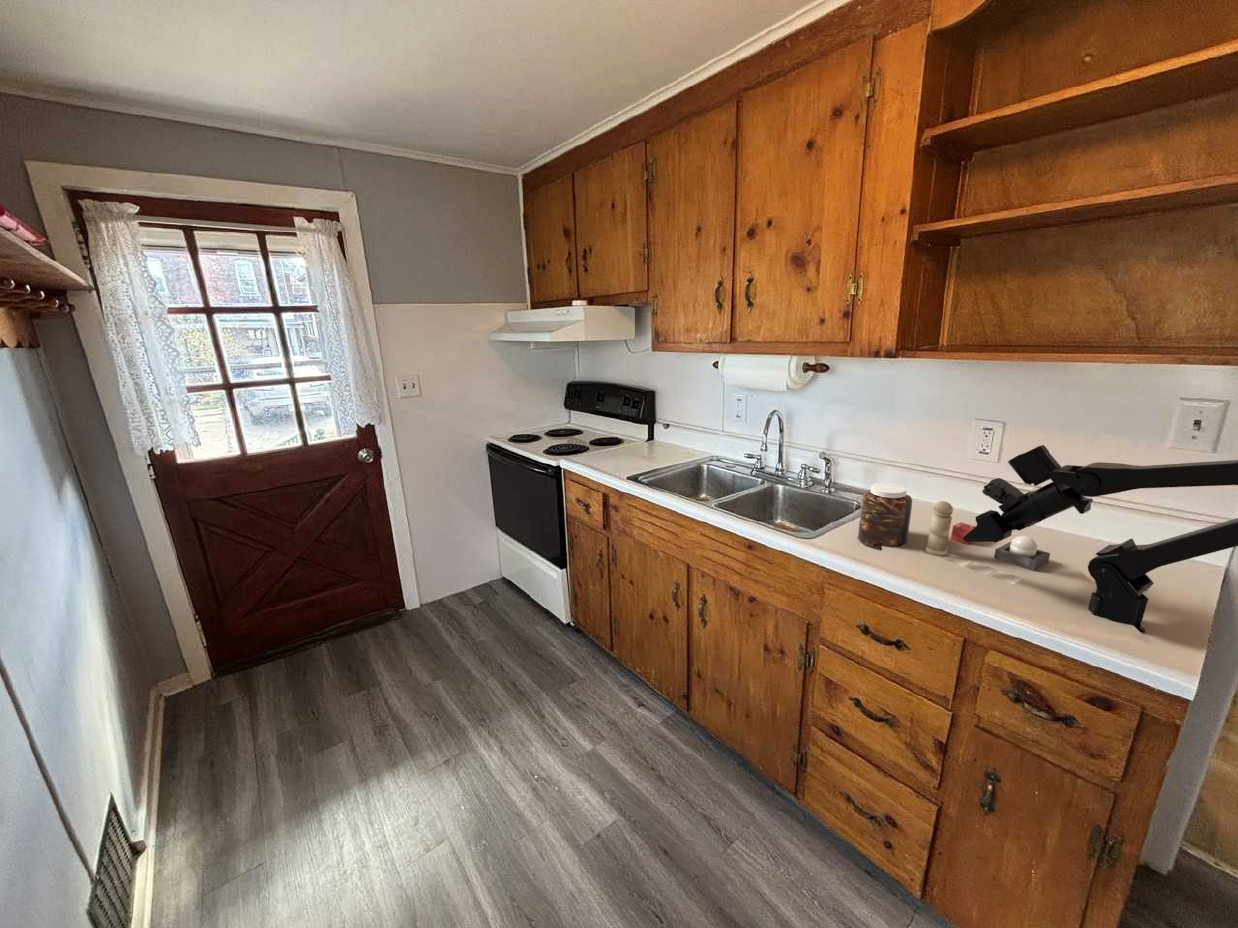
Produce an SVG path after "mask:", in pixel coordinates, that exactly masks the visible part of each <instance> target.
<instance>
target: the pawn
mask: <svg viewBox="0 0 1238 928" xmlns="http://www.w3.org/2000/svg"><path fill="white" fill-rule="evenodd" d="M932 511H933V513H932V515H931V518H930V519H931V521H930V526H929V533H928V539H927V544H926V546H925V549H926V552H927V553H929V554H928V555H930V554H931V555H930V556H932V555H934V556H933V557H935V556H945V557H947V556H948V555H947V552H948V542H949V537H950V531H951V526H952V525H951V524H952V519H953V517H952V514H953V512H954V508H953V506H952V504H951V503H949V502H948V501H943V500H941V501H937V502H935V504H934V505H933V508H932ZM927 553H926V554H927ZM946 555H947V556H946Z"/></svg>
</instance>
